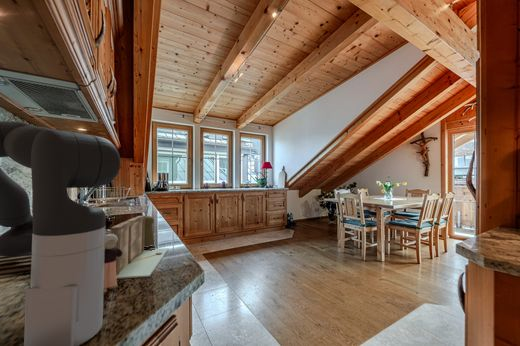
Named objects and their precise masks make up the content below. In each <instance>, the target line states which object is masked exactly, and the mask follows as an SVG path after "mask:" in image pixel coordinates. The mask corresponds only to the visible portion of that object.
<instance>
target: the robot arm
mask: <svg viewBox="0 0 520 346" xmlns="http://www.w3.org/2000/svg"><path fill="white" fill-rule="evenodd" d="M0 158H10V159H11V160H12V161H14V162H15V163H17V164H18V165H21V166H23V167H25V168H27V169H31V170H30V171H31V189H32V190H31V194H32V195H31V196H32V199H31V200H32V203H30V202H31V201H30V197H29V194H28V192H27V191H26V190H25V188H23V187H22V186H21V184H19V183H18V182H17V181H15V180H14V179H12V178H11V177H10V176H9V175H7V174H6V172H4V171H3V169H2V168H1V167H0V226H1V227H3V228H9V229H8V230H7V231H5V232H3V233H2V234H0V256H1V257H7V258H15V257H21V256H25V255H30V254H31V263H30V288H29V289H28V290H26V292H25V305H24V306H25V307H24V308H25V310H24V335H23V338H24V339H23V340H24V341H23V346H80V345H83V344H85V342H88V341H89V340H90V339H92V338H93V337H95V335H97V334H98V333H99V331H100V330H101V329H102V327H103V319H104V318H103V317H104V315H103V314H104V293H103V291H104V255H105V235H107V234H111V228H110V229H108V228H107V229H106V220H107V219H106V217H107V215H106V212H105V210H103V209H101V208H98V207H93V206H88V205H84V204H81V203H78V202H77V201H74V200H73V199H71V198H70V195H69V191H68V189H74V188H76V189H80V188H82V189H83V188H84V189H85V188H97V187H103V186H106V185H108V184H110V183H111V182H113V180H115V179H116V177H117V176H118V175H119V173H120V170H121V166H122V165H121V162H122V161H121V156H120V153H119V151H118V149H117V147H116V146H115V145H114V143H112V142H111V141H110V140H109V139H107V138H104V137H102V136H99V135H94V134H86V133H80V132H74V131H73V132H72V131H65V130H60V129H59V130H58V129H52V128H48V127H44V126H38V125H32V124H31V125H30V124H29V123H26V122H22V121H5V120H4V121H3V120H1V121H0ZM31 205H32V206H31ZM31 210H32V211H31Z"/></svg>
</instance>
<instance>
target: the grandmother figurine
mask: <svg viewBox="0 0 520 346" xmlns="http://www.w3.org/2000/svg"><path fill="white" fill-rule="evenodd" d="M117 240H118V237H117V236H116V235H114V234H107V235H105V255H104V291H103V294H105V293H107V292H108V290H113V289H116V288H118V282H117V280H118V279H117V277H116V257H119V258H120V260H121V261H122V260H124V256H123V252H122V251H121V250H120V249H118V248H114V247H115V245H116V242H117Z"/></svg>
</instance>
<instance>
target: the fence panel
mask: <svg viewBox="0 0 520 346" xmlns="http://www.w3.org/2000/svg"><path fill="white" fill-rule="evenodd" d="M145 216H146V215H138V216H134V217H132V218H130V219H128V220H125V221H124V222H130V225H129V239H128V262H130V261H131V260H132V259H133V258H135V257H136V256H137V255H139V254H140V253H141V252H143V251H144V249H145V248H144V243H145Z"/></svg>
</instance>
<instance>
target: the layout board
mask: <svg viewBox="0 0 520 346" xmlns="http://www.w3.org/2000/svg"><path fill="white" fill-rule="evenodd" d="M154 249H155V250H152V251H145V250H144V251H143V252H141V253H140V254H139V255H137V256H136V257H135V258H133V259H132V260H131V261H130V262H128V265H127V266H126V267H125V268H124V269H123V270H122V271H120V274H118V275H117V276H116V277H117V280H119V279H120V280H121V279H122V280H123V279H131V278H132V279H134V278H136V279H137V278H150V277H151V276H152V274H153V273H154V271H155V270H156V268H157V267H158V265H159V264H160V263H161V261H162V260H163V258H164V257H165V256H166V254H167V253H168V251H169V250H170V248H169V247H167V248H165V247H164V248H163V247H162V248H154ZM168 249H169V250H168ZM164 255H165V256H164Z"/></svg>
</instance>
